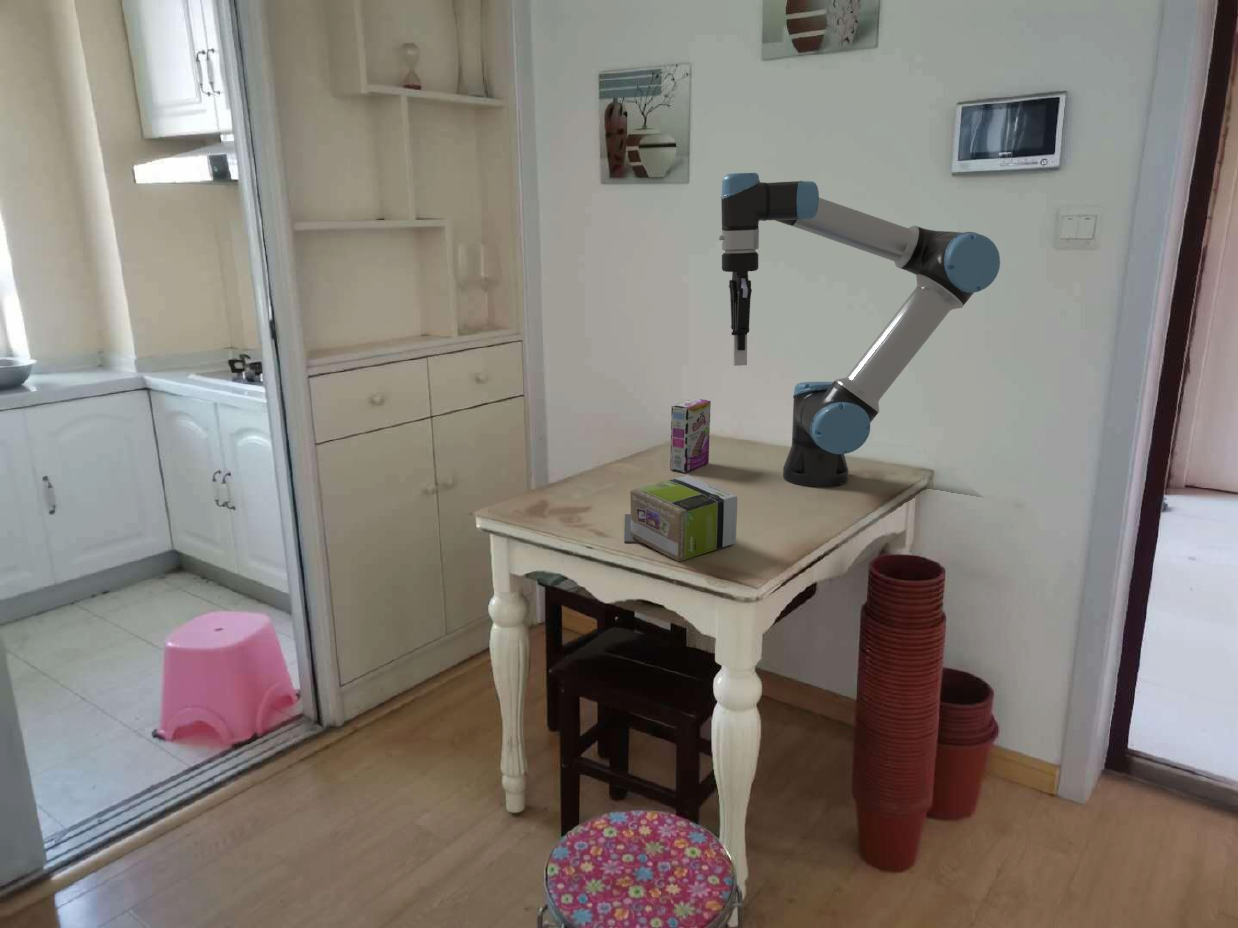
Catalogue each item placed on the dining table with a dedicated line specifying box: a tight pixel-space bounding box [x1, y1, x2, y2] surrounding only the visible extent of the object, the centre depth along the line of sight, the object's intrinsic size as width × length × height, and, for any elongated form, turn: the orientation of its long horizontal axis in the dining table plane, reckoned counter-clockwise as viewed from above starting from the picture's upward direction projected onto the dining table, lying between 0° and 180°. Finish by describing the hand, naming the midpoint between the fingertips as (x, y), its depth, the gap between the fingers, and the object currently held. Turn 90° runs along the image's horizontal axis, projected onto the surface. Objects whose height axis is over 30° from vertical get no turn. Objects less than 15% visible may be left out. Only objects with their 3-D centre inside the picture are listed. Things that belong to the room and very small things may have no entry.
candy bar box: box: [669, 398, 712, 474], centre depth 224 cm, size 11×5×16 cm, turn 144°
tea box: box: [629, 474, 738, 562], centre depth 174 cm, size 15×10×15 cm
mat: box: [623, 513, 643, 544], centre depth 183 cm, size 14×16×1 cm
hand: (740, 364), depth 194 cm, fingers closed
